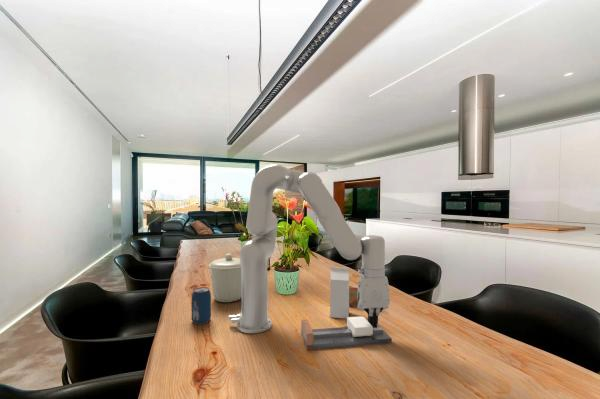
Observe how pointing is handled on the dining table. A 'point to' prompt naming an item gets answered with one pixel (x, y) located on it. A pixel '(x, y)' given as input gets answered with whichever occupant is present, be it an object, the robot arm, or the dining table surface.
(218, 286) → the canister
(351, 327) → the slider
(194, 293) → the soda can
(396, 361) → the dining table surface
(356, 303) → the tin
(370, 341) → the rail
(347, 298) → the milk carton
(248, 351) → the dining table surface
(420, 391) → the dining table surface
